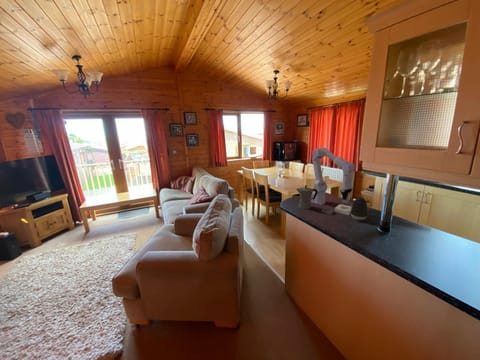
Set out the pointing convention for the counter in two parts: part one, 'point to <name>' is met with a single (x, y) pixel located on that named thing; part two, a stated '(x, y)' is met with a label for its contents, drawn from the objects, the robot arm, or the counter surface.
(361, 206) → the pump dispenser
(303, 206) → the coffeepot
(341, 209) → the port
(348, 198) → the plug
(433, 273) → the counter surface
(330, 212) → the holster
